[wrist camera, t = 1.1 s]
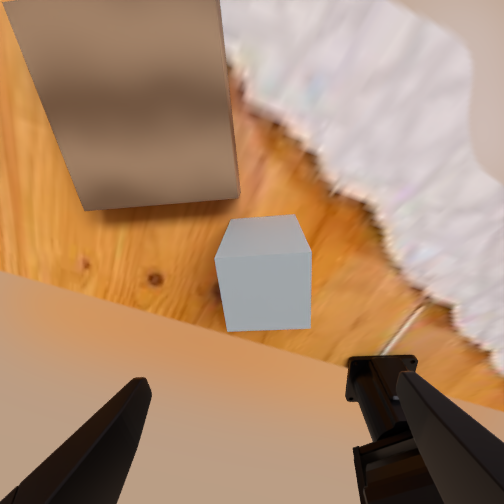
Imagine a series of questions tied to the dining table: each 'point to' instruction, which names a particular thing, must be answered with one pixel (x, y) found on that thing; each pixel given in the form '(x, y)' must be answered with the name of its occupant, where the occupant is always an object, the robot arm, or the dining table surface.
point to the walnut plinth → (134, 97)
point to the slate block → (265, 274)
